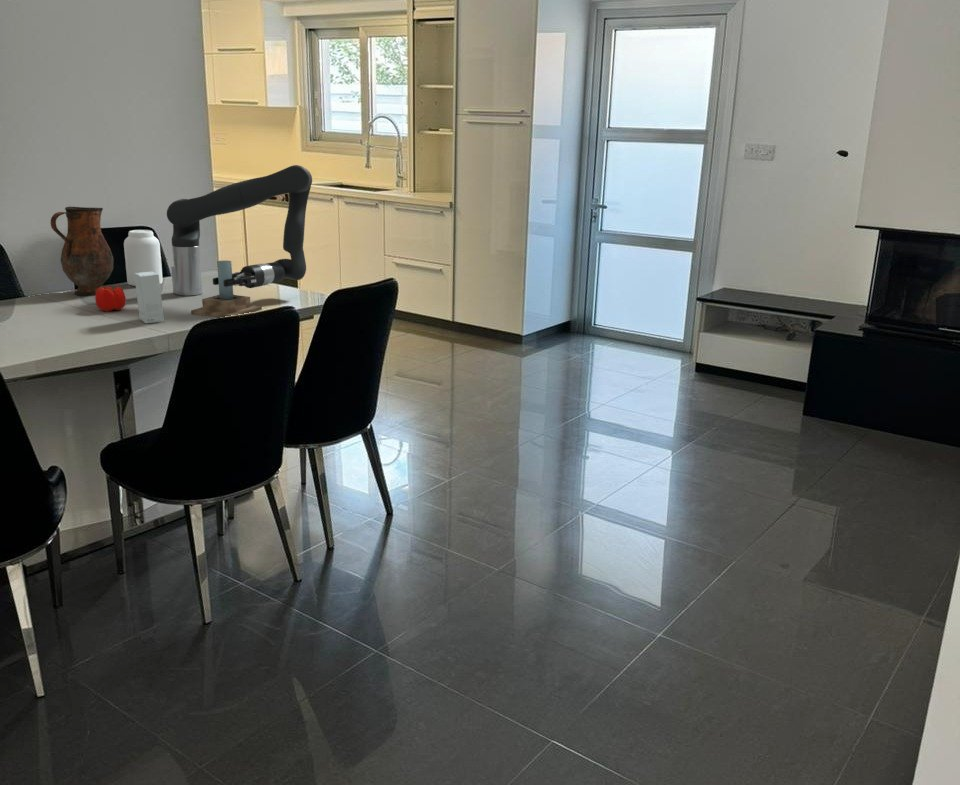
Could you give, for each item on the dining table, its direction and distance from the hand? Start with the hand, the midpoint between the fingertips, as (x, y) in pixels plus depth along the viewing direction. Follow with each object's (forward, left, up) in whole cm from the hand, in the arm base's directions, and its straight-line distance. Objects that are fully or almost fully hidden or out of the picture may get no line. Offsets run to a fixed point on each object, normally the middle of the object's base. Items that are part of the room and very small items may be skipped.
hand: (219, 282), depth 277 cm
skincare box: (-12, -19, -10) cm, 25 cm away
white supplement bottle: (-56, +28, -10) cm, 63 cm away
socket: (0, +3, -10) cm, 10 cm away
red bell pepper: (-33, -13, -10) cm, 37 cm away
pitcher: (-59, +2, -10) cm, 60 cm away
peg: (0, +3, -7) cm, 8 cm away
